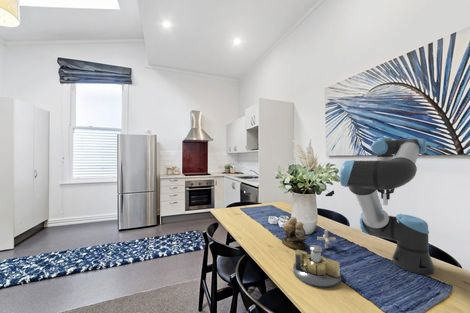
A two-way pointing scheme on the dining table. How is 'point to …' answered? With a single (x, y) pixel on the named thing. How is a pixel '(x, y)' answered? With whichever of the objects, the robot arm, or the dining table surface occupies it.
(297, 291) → the dining table surface
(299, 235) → the owl figurine
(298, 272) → the spigot plate
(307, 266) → the beige segmented block
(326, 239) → the pipe connector
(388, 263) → the dining table surface
